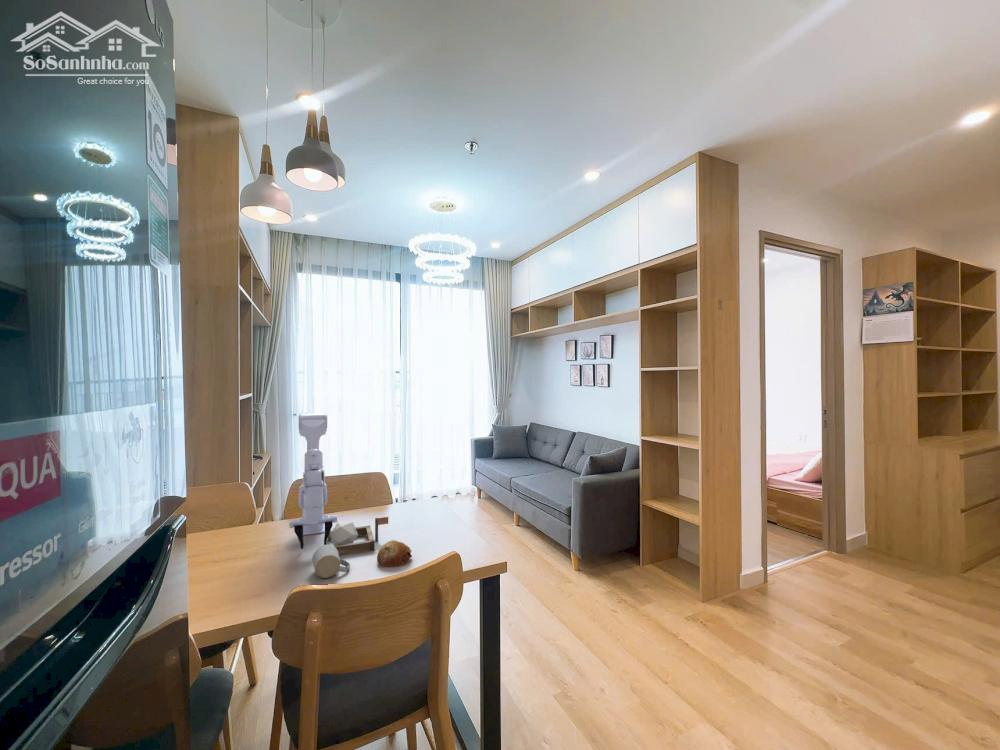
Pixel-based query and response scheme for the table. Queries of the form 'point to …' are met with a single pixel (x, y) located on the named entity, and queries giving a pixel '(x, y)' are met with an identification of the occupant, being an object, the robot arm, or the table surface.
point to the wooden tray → (364, 545)
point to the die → (343, 533)
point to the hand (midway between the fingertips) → (313, 546)
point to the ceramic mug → (328, 561)
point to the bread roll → (393, 554)
